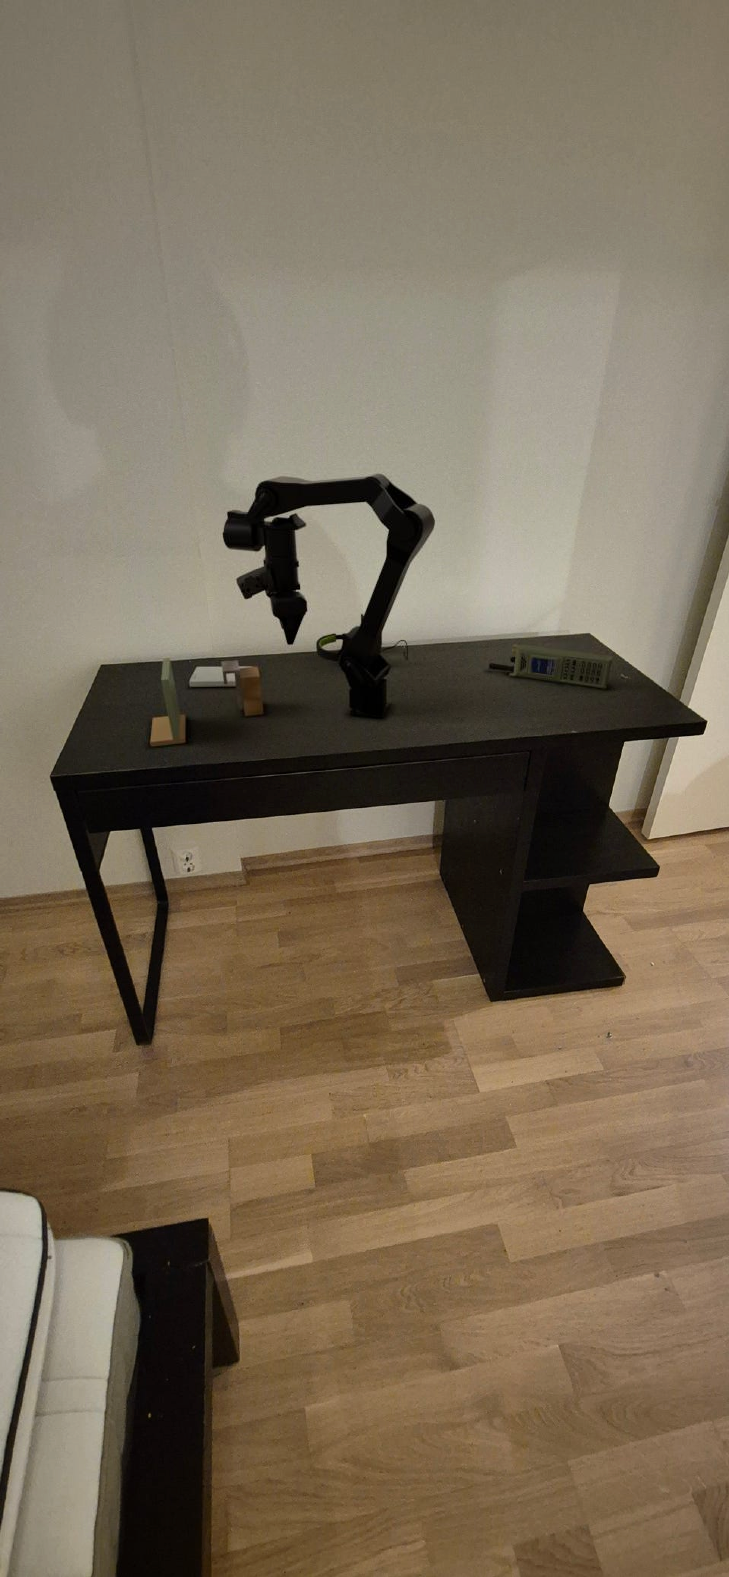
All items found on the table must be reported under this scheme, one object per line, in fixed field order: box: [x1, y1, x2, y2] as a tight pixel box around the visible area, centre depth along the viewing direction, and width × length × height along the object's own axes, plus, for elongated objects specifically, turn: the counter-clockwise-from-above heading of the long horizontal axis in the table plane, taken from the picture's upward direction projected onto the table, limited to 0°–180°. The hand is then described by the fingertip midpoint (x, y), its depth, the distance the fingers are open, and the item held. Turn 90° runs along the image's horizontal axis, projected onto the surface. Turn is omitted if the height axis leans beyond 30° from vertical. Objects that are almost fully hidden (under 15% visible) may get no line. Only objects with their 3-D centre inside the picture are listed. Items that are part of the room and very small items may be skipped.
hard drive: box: [189, 666, 248, 688], centre depth 143 cm, size 2×8×12 cm
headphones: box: [315, 613, 409, 663], centre depth 150 cm, size 16×10×20 cm
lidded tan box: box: [221, 659, 264, 717], centre depth 128 cm, size 7×5×10 cm
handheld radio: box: [488, 643, 613, 690], centre depth 140 cm, size 7×3×25 cm
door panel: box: [149, 658, 187, 747], centre depth 119 cm, size 6×10×12 cm, turn 13°
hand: (287, 636), depth 128 cm, fingers open, 9 cm apart
